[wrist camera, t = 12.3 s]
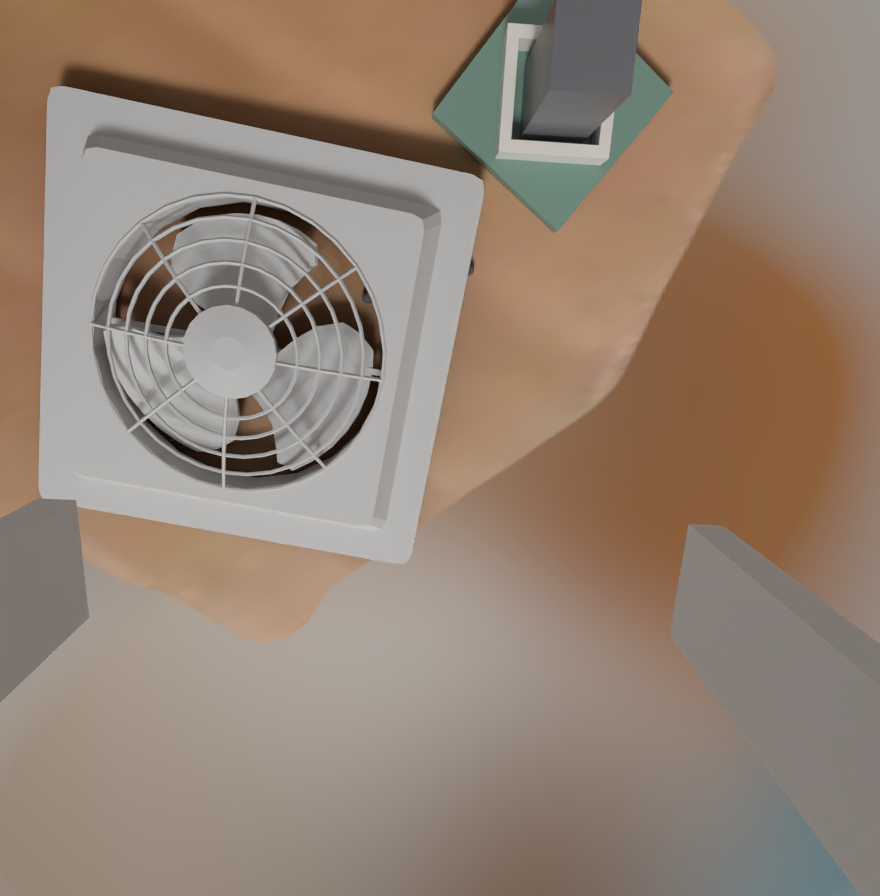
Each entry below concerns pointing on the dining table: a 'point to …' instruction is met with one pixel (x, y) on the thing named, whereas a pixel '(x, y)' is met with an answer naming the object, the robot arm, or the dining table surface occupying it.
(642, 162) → the dining table surface
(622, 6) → the plug
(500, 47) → the header board
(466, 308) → the dining table surface
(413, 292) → the ventilation fan
